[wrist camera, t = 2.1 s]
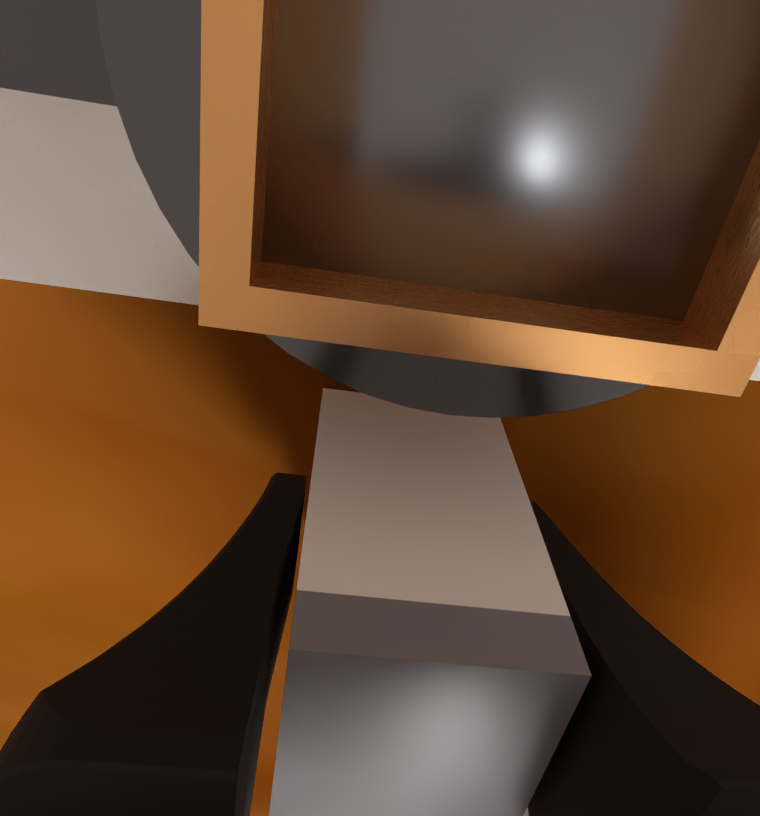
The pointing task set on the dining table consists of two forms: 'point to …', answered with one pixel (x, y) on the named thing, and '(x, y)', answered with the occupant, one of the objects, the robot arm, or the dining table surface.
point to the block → (421, 624)
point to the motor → (405, 184)
